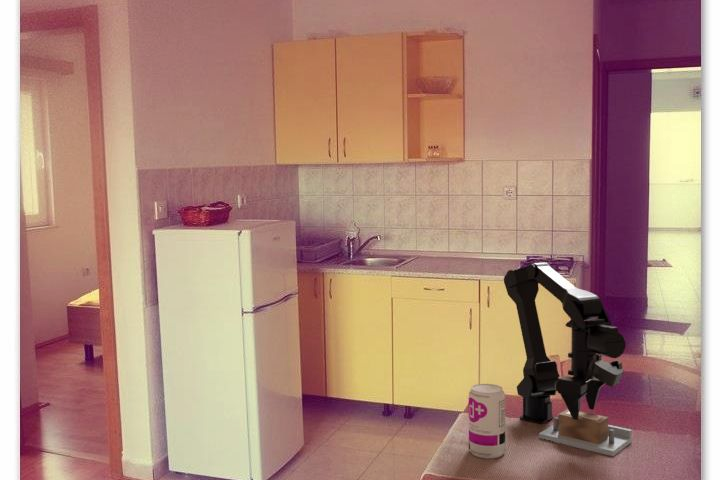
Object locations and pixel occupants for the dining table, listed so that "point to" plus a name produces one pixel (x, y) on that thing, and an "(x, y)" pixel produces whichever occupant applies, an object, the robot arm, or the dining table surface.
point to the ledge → (610, 446)
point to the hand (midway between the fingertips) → (583, 414)
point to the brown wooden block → (583, 427)
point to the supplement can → (487, 421)
